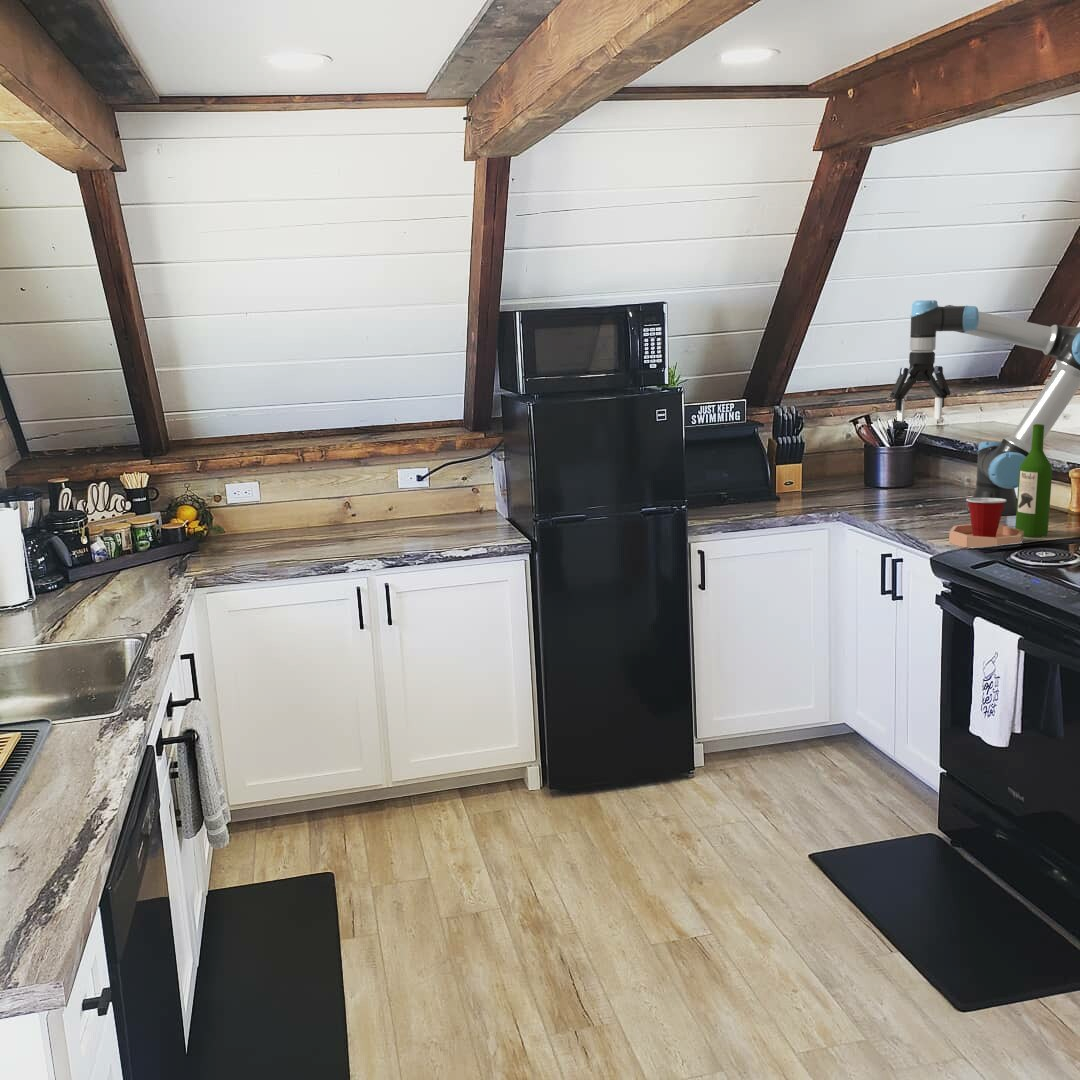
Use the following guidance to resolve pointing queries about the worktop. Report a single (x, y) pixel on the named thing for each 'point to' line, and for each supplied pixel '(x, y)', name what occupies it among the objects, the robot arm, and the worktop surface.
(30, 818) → the worktop surface
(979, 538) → the terracotta bowl
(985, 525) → the plastic cup
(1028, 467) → the wine bottle
